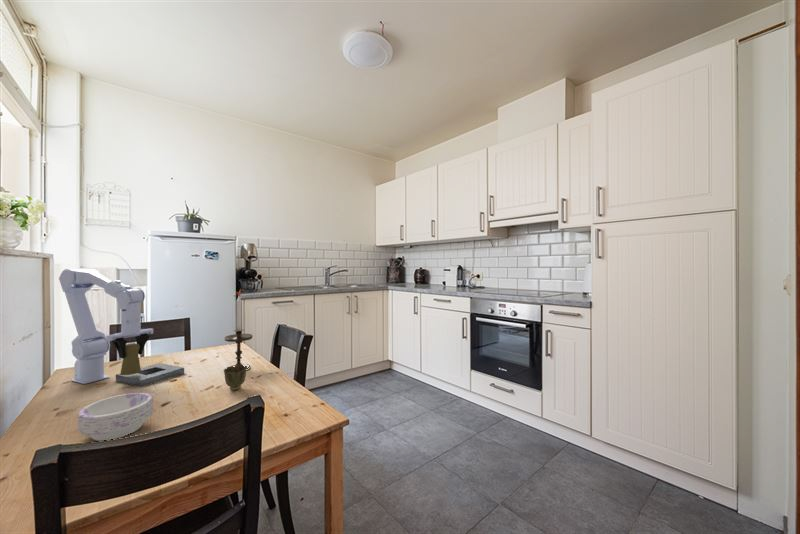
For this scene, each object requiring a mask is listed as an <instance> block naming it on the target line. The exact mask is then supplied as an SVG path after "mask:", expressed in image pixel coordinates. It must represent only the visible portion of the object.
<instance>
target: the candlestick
mask: <svg viewBox="0 0 800 534" xmlns="http://www.w3.org/2000/svg"><path fill="white" fill-rule="evenodd" d="M241 293H242V289H241V288H240V289H239V291H238V294H237V296H238V297H237V299H236V322H235V323H236V326H235V327H236V329H235V330H233V332H235V333H236V334H230V335H227V336H224V341H225V342H228V343H231V342H232V343H234V342H235V343H236V351H235V352H234V353H235V355H236V357H235V359H236V364H235V365H234V364H233V365H231V366H235V367H236V368H237V365H240V366H241V365H242V364H243V363H241V359H242V358H243V357H242V356H241V355H242V354H243V350H241V343H243V342H244V341H249V340H252V339H253V334H252V333H242V331H244V329H242V299H241ZM248 365H249V364H248ZM231 366H229V367H231ZM249 367H250V368H251V365H249ZM249 367H248V368H249ZM248 368H247V369H248Z"/></svg>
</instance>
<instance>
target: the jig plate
mask: <svg viewBox="0 0 800 534" xmlns="http://www.w3.org/2000/svg"><path fill="white" fill-rule="evenodd" d="M140 368H141V372H139V373H136V374H131V375H120V373H121V372H120V373H116V374H115V381H116V382H119V383H122V384H123V383H124V384H127V385H131V386H135V387H140V388H143V387H146V386H149V385H152V384H155V382H156V383H158V381H159V382H162V381H165V380H169V379H172V378H175V377H178V376H182V375H185V367H183V366H177V365H172V364H166V363H162V362H159V363H154V364H151V365H148V366H147V365H146V366H142V367H140ZM181 374H182V375H181ZM171 377H172V378H171ZM168 378H169V379H168ZM161 380H162V381H161ZM142 386H143V387H142Z"/></svg>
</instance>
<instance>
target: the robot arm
mask: <svg viewBox="0 0 800 534" xmlns="http://www.w3.org/2000/svg"><path fill="white" fill-rule="evenodd" d="M58 280H59V283H60V287H61V289H62V292H63V293H64V294H65V297H66V300H67V304H68V307H69V310H70V314H71V316H72V320H73V323H74V327H75V329H76V332H77V336H76V337H75V338H74V339H73V340H72V341H71V347H72V348H71V353H72V356H73V357H74V358H75V359H76V360H75V362H74V368H73V369H74V372H73V374H74V378H72V379H70V381H72V382H74V383H80V384H83V385H86V384H89V383H94V382H98V381H101V380H105V379H108V378H110V376H109V375H105V356H106V355H107V352H109V351H110V349H111V343H112V344H113V346H114V347H115V348H116V350H117V354H118V357H119V358H120V359H123V358H125V347H126V345H127V342H128V340H127V338H133V337H134V338H135V341H136V342H135V343H136V344H139V346H140V349H139V351H138V355H143V351H144V348H145V345H146V343H147V342H148V341H149V339H150V335H153V334H154V328H141V326H142V325H141V323H142V322H141V321H142V319H141V318H142V315H141V312H142V311H141V309H142V306H141V305H142V303H143V302H144V300H145V298H146V295H145V292H144V290H142V289H141V288H140V287H138V288H137V287H136V288H133V287H131V285H126V284H125V283H123V281H122V280H118V279H117V280H110V279H109V278H107V277H106V276H104V275H102V274H101V272H100V271H99V270H97V269H95V268H77V269H76V268H64V269H63V270H62V271H61V273H60V275H59V277H58ZM94 286H97V287H100V288H102V289H104V292H105V294H107V295H109V296H111V297H113V298H115V299H116V301H117V303H118V305H119V307H118V308H119V309H120V315H121V316H120V318H121V319H120V320H121V321H120V328H121V329H120V332H116V333H113V334H108V335H106V333H104V332H101V331H98V329H97V328H96V325H95V321H94V318H93V315H92V312H91V309H90V306H89V303H88V300H87V297H86V293H87V292H88V291H91V289H92V288H93V287H94Z"/></svg>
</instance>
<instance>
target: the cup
mask: <svg viewBox="0 0 800 534" xmlns="http://www.w3.org/2000/svg"><path fill="white" fill-rule="evenodd" d="M246 369H247V366H245V367H244V366H243V365H241V366H240V365H237V368H236V367H233V365H231V367H230V366H227V367H226V368H224V369H223V373H224V380H225V384H226V386H228V387H229V390H230V391H232V392H236V391H239V390H241V388H242V385H243V384H244V382H245V380H246V375H247V371H246Z"/></svg>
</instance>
